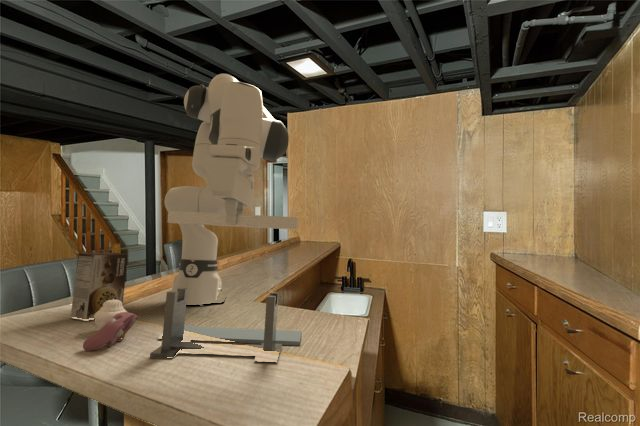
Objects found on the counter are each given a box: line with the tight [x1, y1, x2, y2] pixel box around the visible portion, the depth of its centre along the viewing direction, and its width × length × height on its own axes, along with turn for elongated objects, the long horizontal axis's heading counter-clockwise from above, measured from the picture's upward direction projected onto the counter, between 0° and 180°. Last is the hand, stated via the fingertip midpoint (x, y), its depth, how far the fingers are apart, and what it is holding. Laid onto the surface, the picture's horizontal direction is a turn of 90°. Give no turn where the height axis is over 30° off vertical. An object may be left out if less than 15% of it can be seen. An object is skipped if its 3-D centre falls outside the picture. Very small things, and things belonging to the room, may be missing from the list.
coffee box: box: [70, 252, 129, 319], centre depth 79 cm, size 9×6×16 cm
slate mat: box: [184, 325, 302, 347], centre depth 67 cm, size 8×29×1 cm, turn 91°
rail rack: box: [149, 288, 283, 359], centre depth 58 cm, size 8×22×11 cm, turn 91°
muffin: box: [94, 299, 128, 331], centre depth 67 cm, size 6×6×7 cm
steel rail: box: [167, 211, 299, 230], centre depth 63 cm, size 2×26×2 cm, turn 91°
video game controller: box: [82, 311, 138, 352], centre depth 60 cm, size 10×5×7 cm
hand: (233, 224), depth 63 cm, fingers closed on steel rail, 2 cm apart
